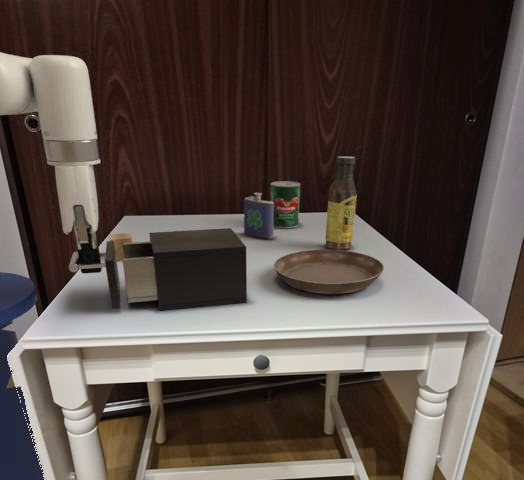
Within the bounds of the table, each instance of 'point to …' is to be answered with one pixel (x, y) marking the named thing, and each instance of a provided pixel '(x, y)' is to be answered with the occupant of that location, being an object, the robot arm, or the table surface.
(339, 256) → the plant saucer
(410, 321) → the table surface
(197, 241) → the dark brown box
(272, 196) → the canned tomato
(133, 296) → the drawer
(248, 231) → the flask
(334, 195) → the sauce bottle
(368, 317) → the table surface
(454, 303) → the table surface
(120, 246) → the block
